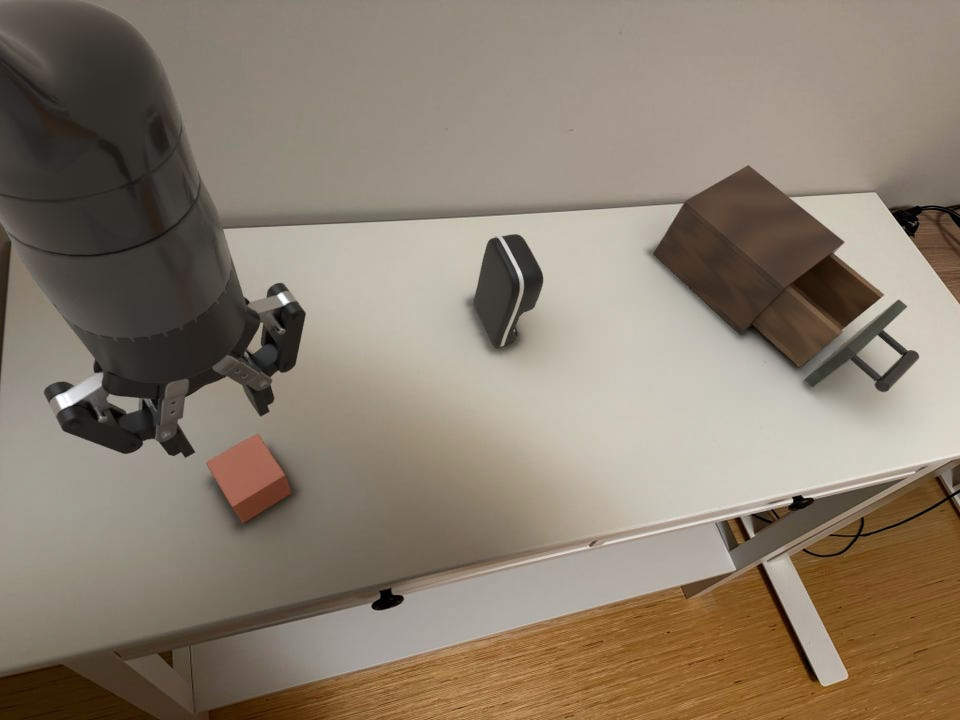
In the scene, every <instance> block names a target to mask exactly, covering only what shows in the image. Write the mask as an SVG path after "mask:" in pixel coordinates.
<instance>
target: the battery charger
mask: <svg viewBox="0 0 960 720" xmlns="http://www.w3.org/2000/svg"><path fill="white" fill-rule="evenodd" d="M478 275H479V276H478V280H477V285H476V289H475V294H474V298H473V305H474V306H475V309H476V311H477V314H478V315H479V318H480V320H481V322H482V324H483V326H484V328H485V331H486V332H487V335H488V337H489V339H490V341H491V343H492V345H493V346H494V347H500V348H501V347H504V346H505V345H509V344H512V343H513V342H515V341H516V340H517V338H518V335H519V332H518V329H517V327H516V326H517V324H518V321H519V319H520V317H521V316H522V315H523V313H526V312H529V311H532V310H533V309H535V308H536V304H537V302H538V300H539V298H540V295H541V292H542V288H543V285H544V274H543V271H542V268H541V266H540V265H539V263H538V261H537V258H536V257H535V255H534V253H533V251H532V250H531V248H530V246H529V245H528V243H527V241H526V240H525V238H524V237H523V236H521V234H517V233H514V234H507V235H502V236H501V235H496V236H494V237H491V238H489V240H487V243H486V245H485V250H484V253H483V256H482V261H481V266H480V270H479V274H478Z"/></svg>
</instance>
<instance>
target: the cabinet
mask: <svg viewBox="0 0 960 720" xmlns="http://www.w3.org/2000/svg"><path fill="white" fill-rule="evenodd" d="M844 244H845V241H844V240H843V239H842V238H841V237H839V236H838V235H837V234H835V233H834V232H833V231H832V230H831V229H829V227H827V226H826V225H824V224H823V223H822V222H821V221H819V220H818V219H817V218H816V217H815V216H814V215H812V214H810V213H809V212H808V211H807V210H806V209H804V207H802V206H801V205H799V204H798V203H797V202H795V201H794V200H793V199H792V198H791V197H790V196H788V195H787V194H786V193H784V192H783V191H782V190H781V189H779V188H778V187H777V186H775V184H773V183H772V182H770V181H769V180H768V179H767V178H766V177H764V176H763V175H762V174H760V173H759V172H758V171H757V170H756V169H754V168H753V167H751V166H750V165H749V164H748V165H746V166H744V167H743V168H741V169H738V170H737V171H735V172H734V173H732V174H730V175H728V176H726V177H724V178H723V179H720V181H717V182H716V183H714V184H713V185H711V186H708V187H707V188H704V190H701V191H700V192H698V193H697V194H694V195H693V196H691V197H690V198H688V199H686V200H685V201H684V202H683V203H682V205H681V206H680V208H679V210H678V212H677V214H676V215H675V217H674V218H673V220H672V222H671V223H670V225H669V227H668V228H667V230H666V232H665V233H664V235H663V236H662V238H661V239H660V242H659V243H658V245H657V246H656V248H655V249H654V251H653V253H652V254H653V256H655V257H656V258H657V259H658V260H659V261H660V262H661V263H662V264H663V265H665V267H666V268H667V269H668V270H670V272H672V273H673V274H674V275H675V276H676V277H677V278H678V279H679V280H681V281H682V283H684V284H685V285H686V286H687V287H688V288H689V289H690V290H691V291H693V293H695V294H696V295H697V296H698V297H699V298H700V299H701V300H702V301H703V302H704V303H705V304H706V305H707V306H708V307H710V308H711V309H712V310H713V311H714V312H715V313H716V314H717V315H718V316H719V317H721V319H722V320H724V322H726V323H727V324H728V325H729V326H730V327H731V328H732V329H733V330H734V331H736V333H738V334H739V335H741V334H743V333H744V332H746V331H747V330H748V329H749V328H751V326H753V325H752V323H753V322H754V320H755V319H756V318H757V317H758V316H759V315H760V314H761V313H762V312H763V311H764V310H765V309H766V308H767V307H768V306H769V305H770V304H771V303H772V302H773V301H774V300H775V299H776V298H777V297H778V296H779V295H780V294H781V293H782V292H783V290H784V289H786V288H787V287H788V286H789V285H791V284H792V283H793V282H795V281H796V280H797V279H799V278H800V277H801V276H803V275H804V274H805V273H807V272H808V271H809V270H810V269H812V268H813V267H814V266H816V265H817V264H818V263H820V262H821V261H822V260H824V259H825V258H826V257H828V256H829V255H830V254H831V253H834V254H835V253H836V252H837V251H838V250H839V249H840V248H841V247H842V246H843V245H844Z"/></svg>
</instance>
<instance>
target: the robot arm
mask: <svg viewBox="0 0 960 720" xmlns="http://www.w3.org/2000/svg"><path fill="white" fill-rule="evenodd" d="M192 149H193V148H192V146H191V143H190V140H189V136H188V134H187V130H186V128H185V124H184V120H183V117H182V115H181V112H180V109H179V106H178V104H177V100H176V97H175V94H174V92H173V88H172V85H171V82H170V80H169V77H168V74H167V71H166V70H165V68H164V65H163V64H162V61H161V59H160V57H159V55H158V53H157V51H156V50H155V49H154V47H153V46H152V45H151V42H150V40H148V39H147V37H146V36H145V35H144V34H143V33H142V31H141V30H140V29H138V28H137V27H136V26H135V25H134V24H133V23H132V22H130V21H129V20H128V19H127V18H125V17H123V16H122V15H120V14H119V13H117V12H116V11H113V10H111V9H110V8H107V7H105V6H103V5H100V4H98V3H95V2H91V1H88V0H0V225H1V226H2V228H3V229H4V231H5V232H6V234H7V236H8V238H9V240H10V242H11V244H12V247H13V248H14V251H15V252H16V254H17V256H18V258H19V260H20V261H21V263H22V265H23V266H24V268H25V270H26V271H27V273H28V274H29V275H30V277H31V279H33V282H35V284H36V285H37V286H38V288H39V289H40V290H41V291H42V293H44V295H45V297H46V298H47V299H48V300H49V302H50V303H52V305H53V306H54V308H55V309H56V310H57V312H58V313H59V315H60V316H61V318H62V319H63V320H64V321H65V322H66V324H67V325H68V326H69V328H70V329H71V330H72V331H73V332H74V334H75V335H76V336H77V338H78V339H79V340H80V341H81V343H82V344H83V345H84V346H85V348H86V349H87V351H88V352H89V353H90V354H91V356H92V357H93V358H94V360H93V364H92V369H93V372H94V373H92V374H91V375H89V376H88V377H86V378H85V379H83V380H81V381H80V382H78V383H77V384H76V385H74V384H73V383H70V382H68V381H57V382H53V383H51V384H49V385H47V386H46V387H45V389H44V390H43V395H44V397H45V399H46V400H47V403H48V404H49V407H50V409H51V411H52V412H53V414H54V417H55V418H56V420H57V423H58V425H59V427H60V428H61V430H62V431H63V432H64V433H67V434H69V435H71V436H75V437H77V438H80V439H82V440H86V441H88V442H90V443H94V444H96V445H99V446H102V447H104V448H107V449H110V450H113V451H114V452H118V453H120V454H124V455H128V454H133V453H134V452H136V451H138V450H140V449H141V448H142V447H143V446H144V442H146V441H148V440H155V441H156V442H157V443H159V444H160V446H161V447H162V448H163V449H164V451H165V452H166V453H167V455H168V456H171V457H175V456H178V455H179V454H182V456H183V457H184V459H187V458H188V457H190V456H192V455H194V454H195V453H196V451H195V449H194V448H193V446H192V443H191V442H190V440H189V439H188V438H187V436H186V434H185V432H184V431H183V429H182V427H181V426H180V424H179V420H182V419H183V418H184V410H185V400H186V398H187V397H189V396H191V395H193V394H194V393H196V392H197V391H199V390H200V389H201V388H203V387H205V386H208V385H210V384H213V383H216V382H219V381H220V380H223V379H225V378H227V377H228V378H229V379H230V380H232V381H234V382H236V383H238V384H239V385H241V386H242V389H243V391H244V394H245V395H246V398H247V399H248V401H249V402H250V404H251V406H252V407H253V409H254V410H255V412H256V413H257V414H258V416H259V417H260V418H261V417H263V416H265V415H267V414H269V413H270V408H269V406H270V405H271V404H273V403H274V401H275V395H274V391H273V388H272V383H273V379H272V377H273V376H274V375H275V374H276V373H277V372H279V373H282V374H284V373H288V372H289V371H291V370H292V369H294V368H295V366H296V364H297V359H298V356H299V350H300V346H301V341H302V335H303V331H304V326H305V320H306V315H307V313H306V311H305V309H304V308H303V307H302V305H301V304H300V302H299V301H298V299H296V297H295V295H293V294H292V292H291V291H290V290H289V288H288V287H287V285H286V284H284V283H283V282H277V283H274V284H272V285H271V286H270V287H269V288H268V289H267V291H266V297H263V298H261V299H257V300H254V301H250V300H249V299H248V298H247V297H245V296H244V293H243V289H242V286H241V283H240V279H239V277H238V273H237V270H236V266H235V264H234V260H233V256H232V253H231V250H230V247H229V244H228V239H227V237H226V234H225V230H224V227H223V224H222V221H221V217H220V215H219V212H218V209H217V207H216V205H215V202H214V200H213V198H212V196H211V194H210V192H209V190H208V189H207V186H206V185H205V183H204V181H203V179H202V176H201V174H200V171H199V170H198V164H197V162H196V158H195V156H194V152H193V150H192ZM261 324H262V328H261V336H260V346H261V347H260V348H259V349H258V350H257V351H255V352H254V351H252V350H251V349H250V348H248V347H249V346H250V344H251V343H252V340H253V339H254V338H255V336H256V335H257V333H258V330H260V325H261ZM110 395H112V396H114V397H123V398H124V397H125V398H135V399H138V409H137V410H135V411H132V412H128V413H127V411H126V410H125V409H123V408H121V407H119V406H117V405H115V404H113V403H111V402H110V401H109V400H108V399H107V398H108V397H109V396H110Z"/></svg>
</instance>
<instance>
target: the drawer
mask: <svg viewBox="0 0 960 720" xmlns="http://www.w3.org/2000/svg"><path fill="white" fill-rule="evenodd" d="M883 297H885V294H884V293H883V292H882V291H881V290H880V289H878V288H877V287H876V286H874V285H873V284H872V283H871V282H870V281H868V280H867V279H866V278H865V277H863V276H862V275H861V274H860V273H859V272H857V271H856V270H855V269H853V268H852V267H851V266H850V265H849V264H848V263H846V262H845V261H844V260H843V259H841V258H840V257H839V256H837V255H836V254H835V253H831V254H830V255H829V256H828V257H826V258H825V259H824V260H822V261H821V262H820V263H818V264H817V265H816V266H814V267H813V268H812V269H810V270H809V271H808V272H807V273H805V274H804V275H803V276H801V277H800V278H799V279H797V280H796V281H795V282H793V283H792V284H791V285H789V286H788V287H787V288H786V289H784V290H783V292H782V293H781V294H780V295H779V296H778V297H777V298H776V299H775V300H774V301H773V302H772V303H771V304H770V305H769V306H768V307H767V308H766V309H765V310H764V311H763V312H762V313H761V314H760V315H759V316H758V317H757V318H756V319H755V320H754V322H753V323H752V326H754V328H756V330H758V331H759V332H760V333H761V334H762V335H763V336H764V337H765V338H767V340H768V341H770V342H771V343H772V344H773V345H774V346H775V347H776V348H777V349H778V350H780V352H782V353H783V354H784V355H785V356H786V357H787V358H789V359H790V361H792V362H793V363H794V364H795V365H796V366H797V367H798V368H801V367H802V366H803V365H804V364H806V363H807V362H808V361H810V360H811V359H812V358H814V357H815V356H816V355H817V354H818V353H819V352H821V351H822V350H823V349H824V348H826V347H827V346H828V345H829V344H830V343H832V342H833V341H834V340H835V339H836V338H838V337H839V336H840V335H841V334H842V333H843V330H845V328H847V327H849V325H851V324H852V323H853V322H854V321H856V319H857V318H858V317H860V316H861V315H862V314H863V313H865V312H866V311H867V310H868V309H870V308H871V307H872V306H873V305H874V304H876V303H877V302H878V301H879V300H881V299H882V298H883ZM907 308H908V305H907V304H905V303H904V302H903V301H902V300H900V299H897V300H896V301H894V302H893V303H892V304H890V306H888V307H886V308H885V309H884V310H882V312H881V313H879V314H878V315H877V316H875V317H874V318H872V319H871V320H870V321H869V322H868V323H866V324H865V325H864V326H863V327H861V328H860V329H859V330H858V331H857V332H855V333H854V334H853V335H851V337H849V338H848V339H847V340H845V342H843V344H842V345H840V346H839V347H838V348H837V349H836V350H835V351H834V352H833V353H832V354H831V355H830V356H829V357H827V358H826V359H825V360H824V361H823V362H822V363H820V364H819V365H818V366H817V367H816V368H815V369H814V370H813V371H812V372H811V373H809V375H807V377H805V378H804V379H803V380H804V382H805V383H806V384H807V385H809V386H810V387H811V388H814V387H815V386H816V385H819V383H821V382H822V381H823V380H824V379H826V378H827V377H828V376H830V375H831V374H833V373H834V372H836V371H837V370H838V369H839V368H840V367H842V366H843V365H845V364H846V363H848V362H849V361H851V362H852V363H853V364H854V365H855V366H857V367H858V368H859V369H860V370H861V371H862V372H864V373H865V375H867V376H868V377H869V378H870V379H872V381H874V382H875V383H874V387H875V389H876V390H877V391H879V392H882V393H887V392H889V391H890V390H891V388H892V387H893V386H895V385H896V383H898V381H900V379H901V378H902V377H903V376H904V375H905V374H906V373H907V372H908V371H909V370H910V369H911V368H912V366H914V365H915V363H916V362H917V361H919V360H920V354H919V352H917V351H916V350H914V349H907V348H905V347H904V346H903V345H902V344H901V343H900V342H898V341H897V340H896V339H895V338H894V337H892V336H891V335H890V334H889V333H888V332H886V331H885V329H886V327H887V326H889V325H890V324H891V323H893V321H894V320H895V319H896V318H898V316H900V314H901V313H903V312H904V311H905V310H906V309H907ZM877 336H878V337H879V338H880V339H881V340H883V341H884V342H885V343H886V344H887V345H888V346H890V347H891V348H892V349H893V350H894V351H896V352H897V353H898V354H899V355H900V357H899V358H898V359H896V361H895V362H894V363H893V364H892V365H891V366H890V367H889V368H888V369H887V370H886V371H885V372H884V373H883V374H882V375H880V374H879V373H878V372H877V371H876V370H875V369H874V368H873V367H871V365H869V364H868V363H867V362H866V361H864V360H863V359H862V358H861V357H860V356H858V354H859V353H860V352H861V351H862V350H863V349H864V348H865V347H867V346H868V344H869V343H871V342H872V341H873V340H874V339H875V338H876V337H877Z"/></svg>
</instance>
